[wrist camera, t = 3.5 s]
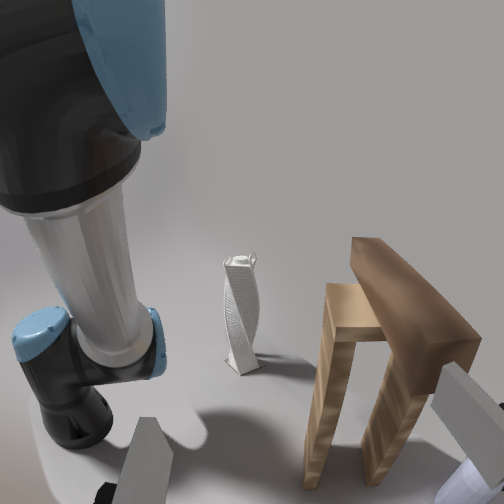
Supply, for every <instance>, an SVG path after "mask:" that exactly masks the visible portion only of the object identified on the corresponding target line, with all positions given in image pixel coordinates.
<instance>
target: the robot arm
mask: <svg viewBox="0 0 504 504" xmlns="http://www.w3.org/2000/svg"><path fill="white" fill-rule="evenodd" d="M166 85H167V83H166V32H165V1H164V0H0V206H1V207H2V208H3V209H4V210H6V211H7V212H9V213H11V214H14V215H17V216H22V217H23V218H24V220H25V223H26V225H27V228H28V230H29V233H30V235H31V237H32V240H33V242H34V244H35V246H36V248H37V250H38V253H39V255H40V257H41V259H42V261H43V263H44V265H45V267H46V269H47V271H48V273H49V275H50V277H51V279H52V281H53V283H54V285H55V287H56V289H57V290H58V292H59V294H60V295H61V298H62V299H63V301H64V303H65V305H66V306H67V308H68V310H69V311H70V313H71V315H72V316H73V318H70V317H69V314H68V312H67V311H66V310H65V309H64V308H62V307H58V306H54V307H48V308H44V309H41V310H38V311H36V312H34V313H32V314H30V315H28V316H27V317H25V318H24V319H23V320H21V321H20V322H19V323H18V324H17V325H16V327H15V328H14V330H13V333H12V344H13V347H14V350H15V353H16V357H17V360H18V361H19V363H20V365H21V367H22V370H23V372H24V374H25V376H26V378H27V380H28V382H29V384H30V386H31V388H32V390H33V392H34V394H35V396H36V398H37V400H38V401H39V404H40V409H41V414H42V418H43V424H44V426H45V429H46V430H47V432H48V433H49V435H50V436H51V438H52V439H53V440H54V441H55V442H56V443H58V444H59V445H61V446H64V447H67V448H72V449H81V448H87V447H90V446H93V445H95V444H97V443H98V442H100V441H101V440H103V439H104V438H105V437H106V436H107V434H108V433H109V431H110V430H111V427H112V425H113V415H112V411H111V409H110V407H109V405H108V403H107V401H106V400H105V399H104V397H103V396H102V395H101V394H99V392H98V391H97V390H96V389H95V388H94V387H93V386H94V385H104V384H113V383H121V382H129V381H136V380H149V379H151V378H153V377H157V376H161V375H162V374H163V373H164V372H165V370H166V365H167V357H166V353H165V352H166V345H165V338H164V332H163V328H162V324H161V320H160V317H159V314H158V312H157V311H156V310H155V309H154V308H147V307H145V306H144V305H143V304H142V303H140V302H139V301H138V300H137V296H136V291H135V286H134V280H133V274H132V268H131V262H130V255H129V249H128V242H127V233H126V225H125V216H124V207H123V195H122V183H123V182H124V181H125V180H126V179H127V178H128V177H129V176H130V175H131V174H132V172H133V171H134V170H135V168H136V166H137V165H138V162H139V159H140V154H141V141H148V140H150V139H151V138H152V137H155V136H158V135H160V134H162V133H163V132H164V130H165V127H166V125H165V120H166V111H167V86H166ZM431 407H432V409H433V410H434V411H435V412H436V414H437V415H438V416H439V418H440V419H441V420H442V422H443V423H444V424H445V426H446V427H447V429H448V430H449V431H450V433H451V434H452V435H453V436H454V438H455V439H456V441H457V442H458V443H459V445H460V446H461V448H462V449H463V450H464V452H465V453H466V455H467V456H468V457H469V459H470V460H471V462H472V463H473V465H474V466H475V467H476V469H477V470H478V472H479V473H480V475H481V476H482V478H483V479H484V481H485V482H486V484H487V485H488V486H489V488H490V489H491V491H492V490H493V489H495V488H496V487H497V486H499V485H500V484H501V483H503V482H504V403H501V404H499V405H498V404H497V403H496V402H495V401H494V400H493V399H492V398H491V397H490V396H489V395H488V394H487V393H486V392H485V391H484V390H483V389H482V388H481V387H480V386H479V385H478V384H477V383H476V382H475V381H474V380H473V379H472V378H471V377H470V376H469V375H468V374H467V373H466V372H465V371H464V370H463V369H462V368H461V367H460V366H459V365H458V364H457V363H455V362H454V361H453V362H451V363H449V364H446V365H444V366H443V367H442V371H441V374H440V378H439V381H438V384H437V388H436V391H435V394H434V397H433V400H432V403H431ZM173 455H174V453H173V451H172V449H171V447H170V446H169V444H168V442H167V440H166V438H165V436H164V434H163V432H162V430H161V428H160V426H159V423H158V422H157V419H156V418H155V417H140V418H139V420H138V423H137V426H136V429H135V432H134V435H133V438H132V441H131V444H130V447H129V450H128V453H127V456H126V459H125V462H124V465H123V468H122V471H121V475H120V478H119V481H118V484H114V483H108V482H105V483H104V484H103V485H102V486H101V487H100V489H99V490H98V492H97V494H96V497H95V502H94V503H93V504H165V501H166V495H167V489H168V483H169V477H170V472H171V466H172V460H173ZM501 491H504V486H503V488H502V490H501Z"/></svg>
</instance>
